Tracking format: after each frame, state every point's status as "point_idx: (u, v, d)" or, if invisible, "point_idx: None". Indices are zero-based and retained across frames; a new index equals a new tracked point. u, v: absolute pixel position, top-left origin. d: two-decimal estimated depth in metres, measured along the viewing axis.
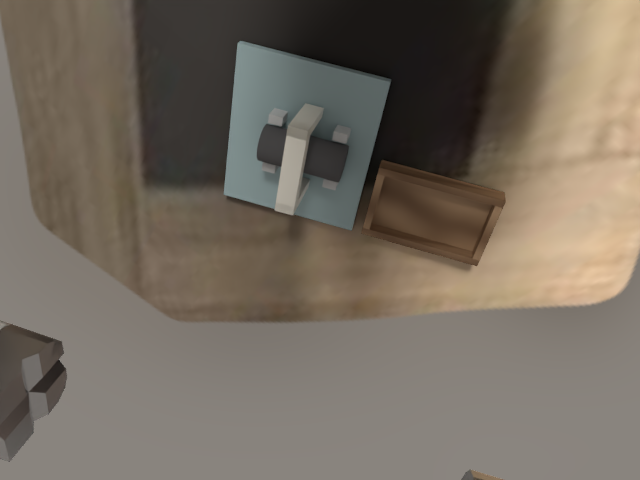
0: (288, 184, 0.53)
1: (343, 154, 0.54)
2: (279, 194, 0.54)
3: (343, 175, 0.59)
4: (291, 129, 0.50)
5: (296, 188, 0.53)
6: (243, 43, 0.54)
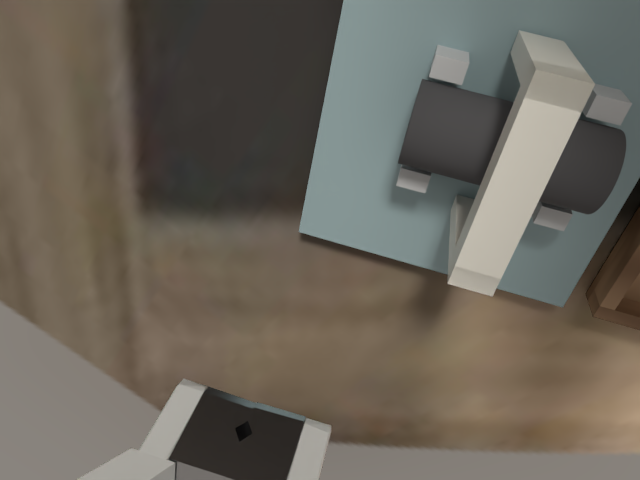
0: (500, 224, 0.21)
1: (622, 147, 0.22)
2: (468, 248, 0.22)
3: None
4: (544, 80, 0.18)
5: (518, 235, 0.21)
6: None
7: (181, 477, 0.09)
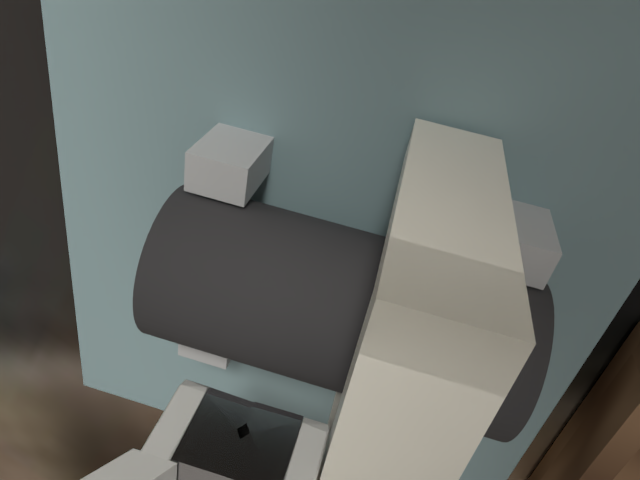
0: None
1: (547, 333, 0.11)
2: None
3: None
4: (401, 324, 0.07)
5: None
6: None
7: (183, 478, 0.09)
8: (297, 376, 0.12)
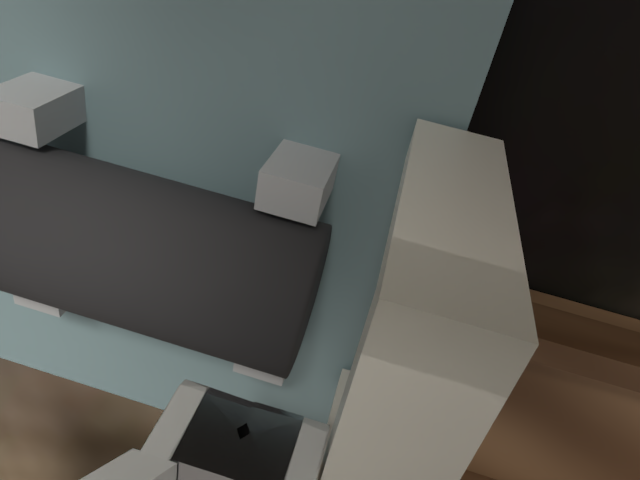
0: None
1: (304, 272, 0.12)
2: None
3: (314, 319, 0.16)
4: (404, 323, 0.07)
5: None
6: None
7: (183, 478, 0.09)
8: (90, 316, 0.13)
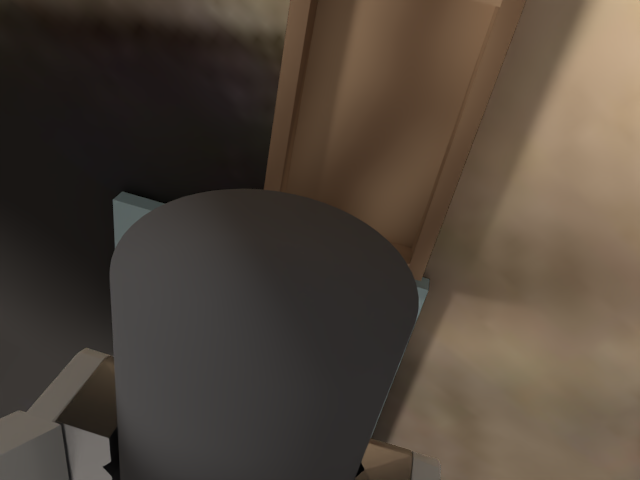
0: None
1: (110, 292, 0.06)
2: None
3: None
4: None
5: None
6: None
7: (70, 440, 0.09)
8: None
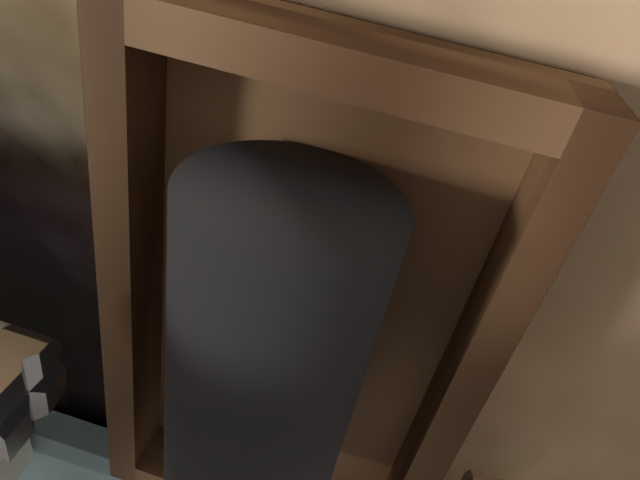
0: None
1: (167, 202, 0.08)
2: None
3: None
4: None
5: None
6: None
7: None
8: (274, 478, 0.10)
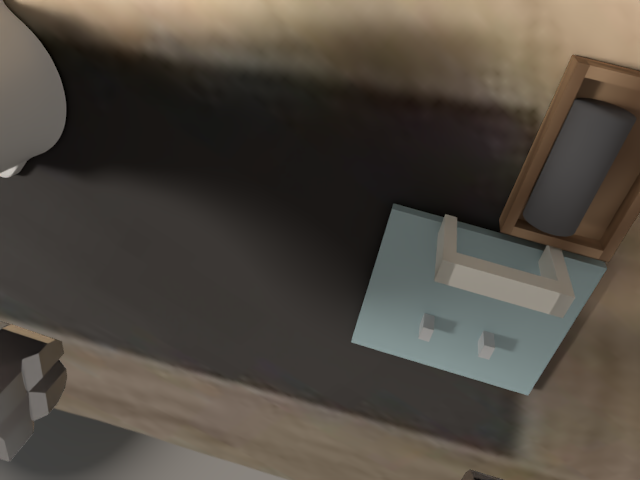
0: (520, 293, 0.38)
1: (573, 102, 0.36)
2: (536, 307, 0.38)
3: None
4: (439, 278, 0.39)
5: (528, 285, 0.38)
6: (353, 336, 0.54)
7: None
8: (571, 185, 0.37)
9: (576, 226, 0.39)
